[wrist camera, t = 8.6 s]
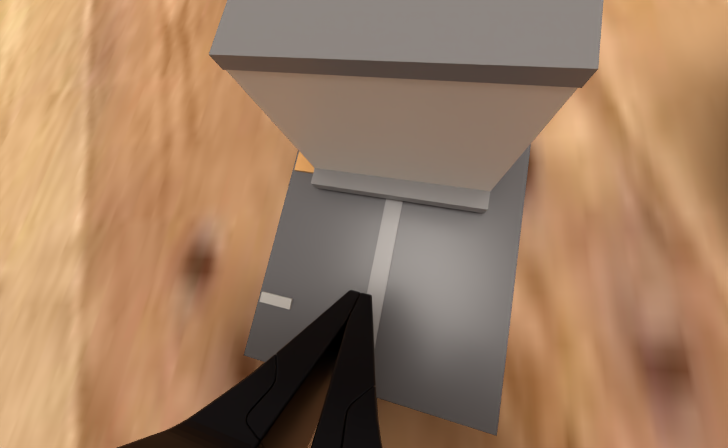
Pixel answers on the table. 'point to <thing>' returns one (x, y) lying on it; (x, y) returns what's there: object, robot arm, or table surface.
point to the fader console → (403, 288)
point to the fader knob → (410, 86)
